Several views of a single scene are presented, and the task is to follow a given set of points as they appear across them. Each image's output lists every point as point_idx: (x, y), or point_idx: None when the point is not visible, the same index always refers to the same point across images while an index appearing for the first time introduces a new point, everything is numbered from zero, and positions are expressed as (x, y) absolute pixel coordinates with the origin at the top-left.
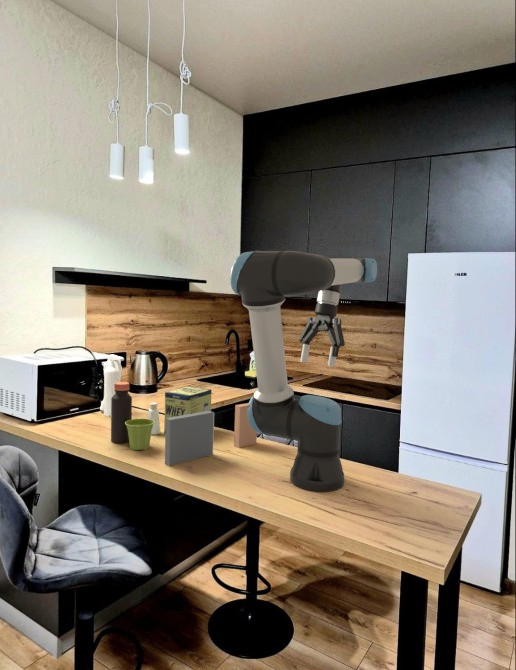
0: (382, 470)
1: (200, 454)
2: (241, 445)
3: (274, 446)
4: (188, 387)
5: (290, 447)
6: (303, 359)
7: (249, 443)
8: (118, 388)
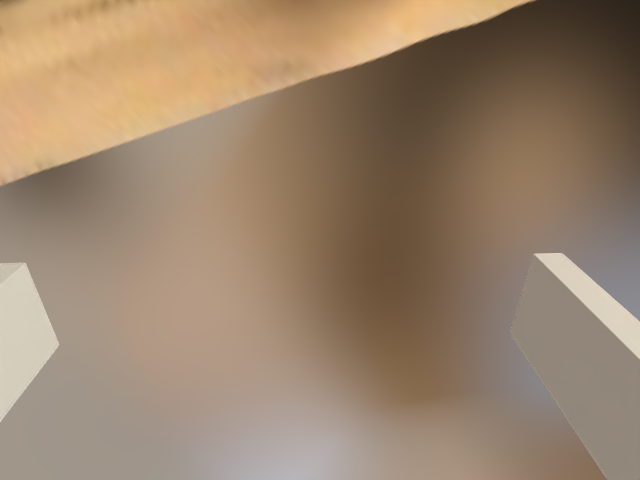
0: (2, 179)
1: None
2: None
3: (368, 14)
4: None
5: (325, 66)
6: (546, 296)
7: None
8: None
